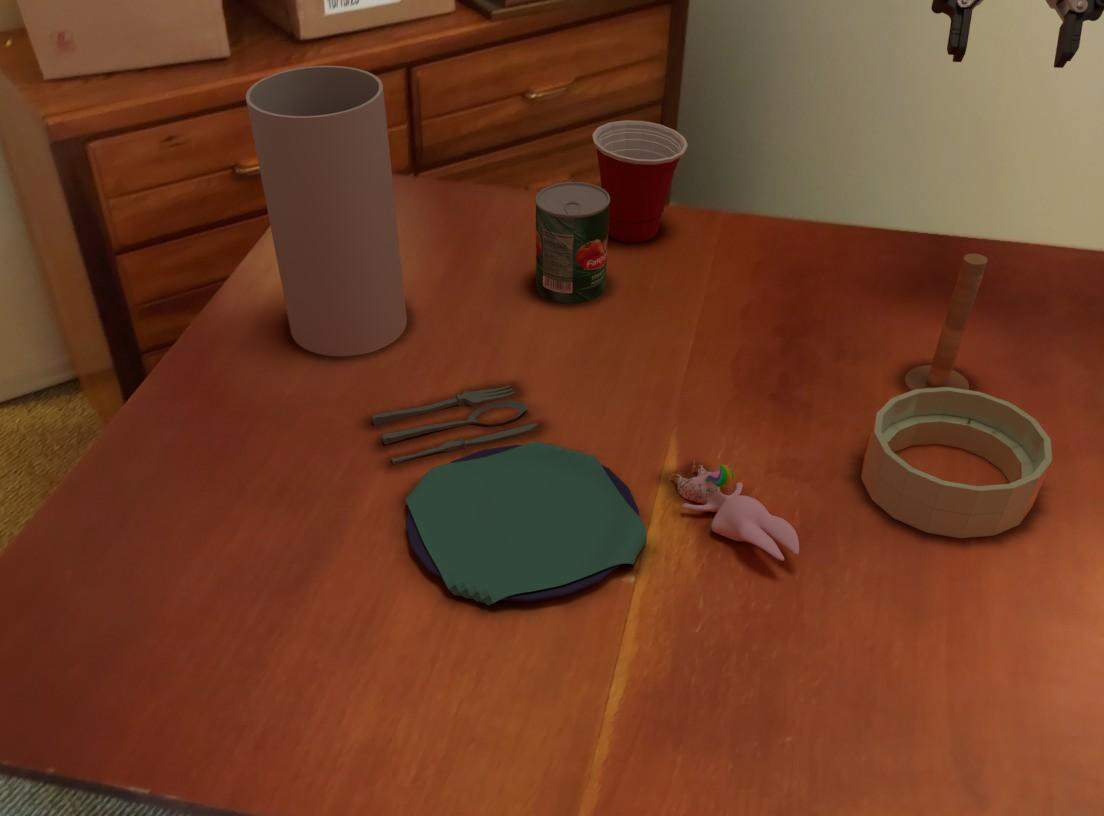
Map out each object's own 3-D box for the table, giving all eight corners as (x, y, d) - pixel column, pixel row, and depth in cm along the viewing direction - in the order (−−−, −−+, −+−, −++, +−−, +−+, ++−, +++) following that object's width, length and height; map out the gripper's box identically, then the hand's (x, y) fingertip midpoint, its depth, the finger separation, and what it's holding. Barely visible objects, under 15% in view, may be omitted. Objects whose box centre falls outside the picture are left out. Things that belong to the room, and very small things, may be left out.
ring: (903, 422, 101) (919, 369, 97) (1053, 482, 94) (1077, 427, 90) (831, 498, 94) (845, 444, 89) (988, 568, 87) (1011, 513, 83)
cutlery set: (450, 644, 83) (448, 623, 81) (352, 429, 103) (348, 410, 101) (679, 576, 87) (681, 556, 86) (542, 384, 107) (542, 364, 105)
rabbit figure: (652, 505, 96) (758, 587, 85) (651, 447, 92) (761, 525, 81) (709, 483, 98) (820, 561, 86) (710, 425, 94) (825, 498, 83)
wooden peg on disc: (918, 366, 107) (957, 236, 97) (976, 387, 105) (1022, 255, 95) (892, 393, 104) (929, 262, 94) (951, 416, 102) (995, 282, 92)
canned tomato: (536, 274, 122) (535, 181, 115) (604, 274, 122) (609, 180, 114) (535, 311, 117) (534, 215, 109) (606, 310, 117) (611, 214, 109)
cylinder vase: (391, 367, 110) (362, 120, 92) (276, 358, 112) (225, 114, 94) (419, 305, 118) (397, 68, 101) (312, 297, 120) (272, 63, 102)
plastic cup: (676, 261, 124) (686, 158, 115) (584, 256, 125) (587, 154, 117) (680, 217, 131) (690, 118, 123) (593, 213, 133) (596, 115, 124)
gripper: (964, -157, 90) (934, 34, 91) (1144, -154, 88) (1113, 43, 88) (944, -100, 98) (917, 77, 98) (1109, -95, 95) (1081, 86, 96)
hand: (1010, 60), depth 93 cm, fingers open, 8 cm apart
